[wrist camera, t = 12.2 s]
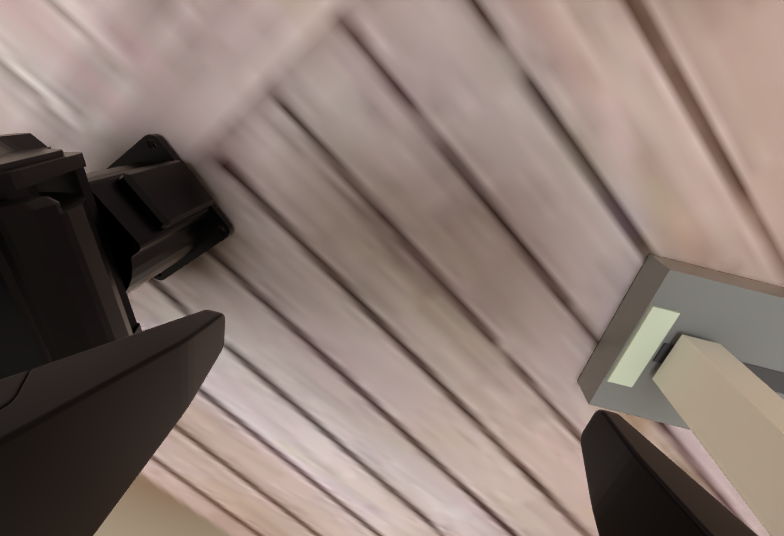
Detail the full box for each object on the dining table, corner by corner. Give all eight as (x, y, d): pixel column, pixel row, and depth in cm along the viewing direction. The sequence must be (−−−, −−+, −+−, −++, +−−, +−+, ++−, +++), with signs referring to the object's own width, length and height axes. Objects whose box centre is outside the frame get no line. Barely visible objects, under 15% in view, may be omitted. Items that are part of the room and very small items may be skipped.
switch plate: (577, 381, 24) (589, 406, 22) (649, 254, 20) (672, 271, 18) (761, 427, 24) (790, 457, 22) (868, 308, 20) (916, 332, 18)
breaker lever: (645, 381, 21) (824, 628, 11) (681, 328, 19) (924, 561, 10) (688, 392, 21) (903, 648, 11) (727, 340, 19) (1016, 584, 10)
